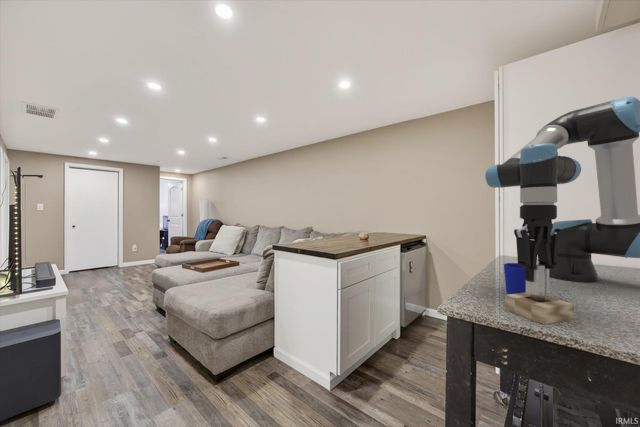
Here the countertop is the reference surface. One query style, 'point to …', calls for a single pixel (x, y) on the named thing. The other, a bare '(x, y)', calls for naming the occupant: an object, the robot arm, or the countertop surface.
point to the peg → (540, 285)
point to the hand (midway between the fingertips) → (537, 292)
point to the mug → (514, 278)
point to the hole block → (539, 308)
